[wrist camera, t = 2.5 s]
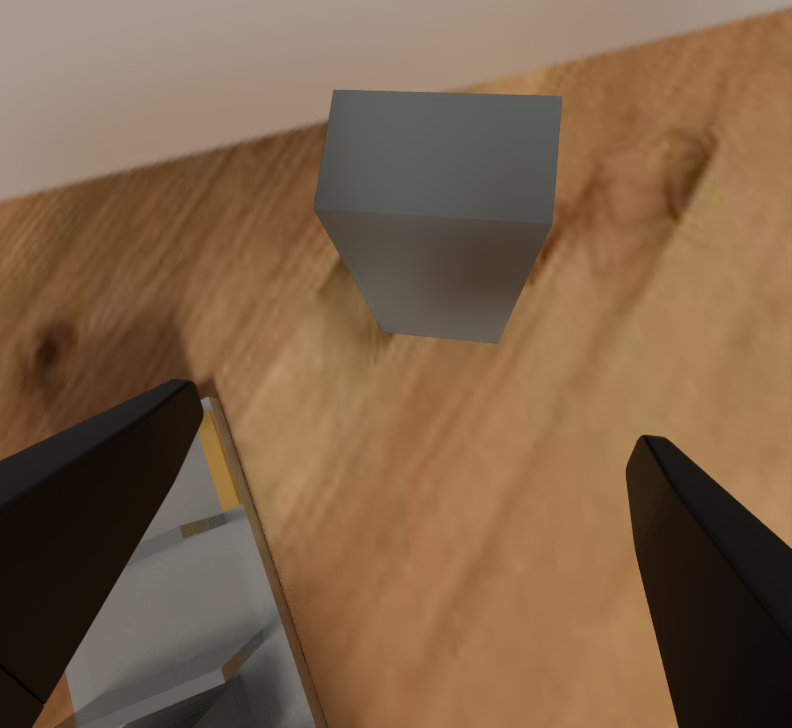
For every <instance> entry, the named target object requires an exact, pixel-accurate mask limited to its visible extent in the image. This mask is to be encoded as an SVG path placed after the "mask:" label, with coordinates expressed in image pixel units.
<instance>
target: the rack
mask: <svg viewBox="0 0 792 728" xmlns="http://www.w3.org/2000/svg"><path fill="white" fill-rule="evenodd" d="M201 403H202V406H203V410H204V417H203V421H202V423H201V425H200V428H199V430H198V432H197V434H196V436H195V439H194V441H193V443H192V445H191V448H190V450H189V452H188V454H187V457H186V459H185V461H184V463H183V465H182V468H181V470H180V472H179V474H178V476H177V478H176V480H175V482H174V484H173V486H172V488H171V489H170V491H169V493H168V495H167V496H166V498H165V500H164V502H163V503H162V505H161V507H160V508H159V510H158V512H157V514H156V515H155V517H154V519H153V520H152V522H151V524H150V526H149V527H148V529H147V531H146V532H145V534H144V536H143V538H142V539H141V541H140V543H139V544H138V546H137V548H136V550H135V551H134V553H133V555H132V556H131V558H130V560H129V562H128V563H127V565H126V567H125V568H124V570H123V572H122V574H121V575H120V577H119V579H118V580H117V582H116V584H115V586H114V587H113V589H112V591H111V592H110V594H109V596H108V598H107V599H106V601H105V603H104V604H103V606H102V608H101V610H100V611H99V613H98V615H97V616H96V618H95V620H94V622H93V623H92V625H91V627H90V628H89V630H88V632H87V634H86V635H85V637H84V639H83V640H82V642H81V644H80V646H79V647H78V649H77V651H76V652H75V654H74V656H73V658H72V659H71V661H70V663H69V664H68V666H67V668H66V670H65V673H66V678H67V682H68V687H69V691H70V695H71V700H72V704H73V709H74V714H73V715H71V716H70V717H68V718H67V719H66V720H64V721H63V722H61V723H60V724H58V725H57V726H56V727H54V728H327V726H326V723H325V720H324V717H323V714H322V711H321V708H320V704H319V701H318V698H317V695H316V692H315V689H314V686H313V683H312V680H311V677H310V674H309V671H308V668H307V665H306V662H305V659H304V656H303V653H302V650H301V647H300V644H299V641H298V638H297V635H296V632H295V629H294V626H293V623H292V620H291V617H290V614H289V611H288V608H287V605H286V602H285V598H284V595H283V592H282V589H281V586H280V583H279V580H278V577H277V574H276V571H275V568H274V565H273V562H272V559H271V556H270V553H269V550H268V547H267V544H266V541H265V538H264V535H263V532H262V529H261V526H260V523H259V520H258V517H257V514H256V511H255V508H254V505H253V502H252V499H251V496H250V492H249V489H248V486H247V483H246V480H245V477H244V474H243V471H242V468H241V465H240V462H239V459H238V456H237V453H236V450H235V447H234V444H233V441H232V438H231V435H230V432H229V429H228V426H227V423H226V420H225V417H224V414H223V411H222V408H221V405H220V402H219V399H217V398H213V397H206V398H204V399H202V400H201Z"/></svg>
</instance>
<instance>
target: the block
mask: <svg viewBox="0 0 792 728" xmlns="http://www.w3.org/2000/svg"><path fill="white" fill-rule="evenodd" d="M561 107H562V96H539V95H503V94H466V93H430V92H393V91H358V90H357V91H356V90H334V91H333V97H332V103H331V109H330V114H329V120H328V126H327V132H326V138H325V144H324V150H323V156H322V162H321V168H320V173H319V179H318V185H317V191H316V197H315V203H314V210H315V212H316V214H317V216H318V217H319V219H320V221H321V223H322V224H323V226H324V228H325V230H326V232H327V233H328V235H329V237H330V239H331V240H332V242H333V244H334V246H335V247H336V249H337V251H338V253H339V254H340V256H341V258H342V260H343V261H344V263H345V265H346V267H347V268H348V270H349V272H350V274H351V275H352V277H353V279H354V281H355V282H356V284H357V286H358V288H359V289H360V291H361V293H362V295H363V296H364V298H365V300H366V302H367V304H368V305H369V307H370V309H371V311H372V312H373V314H374V316H375V318H376V319H377V321H378V323H379V325H380V326H381V328H382V330H383V332H385V333H395V334H406V335H416V336H426V337H436V338H446V339H456V340H466V341H476V342H487V343H497V344H498V341H499V339H500V337H501V335H502V333H503V331H504V328H505V326H506V324H507V322H508V320H509V317H510V315H511V313H512V311H513V309H514V307H515V304H516V302H517V300H518V298H519V296H520V293H521V291H522V289H523V287H524V285H525V283H526V280H527V278H528V276H529V274H530V272H531V269H532V267H533V265H534V263H535V261H536V259H537V256H538V254H539V252H540V250H541V248H542V245H543V243H544V241H545V239H546V237H547V235H548V232H549V230H550V228H551V226H552V222H553V209H554V196H555V184H556V171H557V158H558V145H559V132H560V120H561Z"/></svg>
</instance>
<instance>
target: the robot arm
mask: <svg viewBox="0 0 792 728" xmlns="http://www.w3.org/2000/svg"><path fill="white" fill-rule="evenodd" d="M203 417H204V410H203V406H202V403H201V400H200V396H199V393H198V390H197V387H196V384H195V383H194V382H193V381H190V380H182V379H172V380H170V381H168V382H166V383H164V384H162V385H159V386H157V387H155V388H153V389H151V390H149V391H147V392H145V393H143V394H140V395H138V396H136V397H134V398H132V399H130V400H128V401H126V402H124V403H121V404H119V405H117V406H115V407H113V408H111V409H109V410H107V411H105V412H102V413H100V414H98V415H96V416H94V417H92V418H90V419H88V420H85V421H83V422H81V423H79V424H77V425H75V426H73V427H71V428H69V429H66V430H64V431H62V432H60V433H58V434H56V435H54V436H52V437H50V438H47V439H45V440H43V441H41V442H39V443H37V444H35V445H33V446H30V447H28V448H26V449H24V450H22V451H20V452H18V453H16V454H14V455H11V456H9V457H7V458H5V459H3V460H1V461H0V728H32V727H33V725H34V723H35V722H36V720H37V718H38V716H39V715H40V713H41V711H42V710H43V708H44V705H43V704H45V703H46V702H47V700H48V699H49V697H50V695H51V694H52V692H53V690H54V688H55V687H56V685H57V683H58V682H59V680H60V678H61V676H62V675H63V673H64V671H65V670H66V668H67V666H68V664H69V663H70V661H71V659H72V658H73V656H74V654H75V652H76V651H77V649H78V647H79V646H80V644H81V642H82V640H83V639H84V637H85V635H86V634H87V632H88V630H89V628H90V627H91V625H92V623H93V622H94V620H95V618H96V616H97V615H98V613H99V611H100V610H101V608H102V606H103V604H104V603H105V601H106V599H107V598H108V596H109V594H110V592H111V591H112V589H113V587H114V586H115V584H116V582H117V580H118V579H119V577H120V575H121V574H122V572H123V570H124V568H125V567H126V565H127V563H128V562H129V560H130V558H131V556H132V555H133V553H134V551H135V550H136V548H137V546H138V544H139V543H140V541H141V539H142V538H143V536H144V534H145V532H146V531H147V529H148V527H149V526H150V524H151V522H152V520H153V519H154V517H155V515H156V514H157V512H158V510H159V508H160V507H161V505H162V503H163V502H164V500H165V498H166V496H167V495H168V493H169V491H170V489H171V488H172V486H173V484H174V482H175V480H176V478H177V476H178V474H179V472H180V470H181V468H182V465H183V463H184V461H185V459H186V457H187V454H188V452H189V450H190V448H191V445H192V443H193V441H194V439H195V436H196V434H197V432H198V430H199V428H200V425H201V423H202V421H203ZM626 482H627V490H628V498H629V507H630V515H631V523H632V531H633V539H634V546H635V552H636V557H637V561H638V566H639V570H640V574H641V578H642V582H643V586H644V590H645V594H646V598H647V602H648V606H649V610H650V614H651V618H652V622H653V626H654V630H655V634H656V638H657V642H658V646H659V651H660V655H661V659H662V663H663V667H664V671H665V675H666V679H667V683H668V687H669V691H670V695H671V699H672V703H673V707H674V711H675V715H676V719H677V723H678V727H679V728H792V549H791V548H790V547H789V546H788V545H787V544H786V543H785V542H784V541H782V540H781V539H780V538H779V537H778V536H777V535H776V534H775V533H773V532H772V531H771V530H770V529H769V528H768V527H767V526H765V525H764V524H763V523H762V522H761V521H760V520H759V519H758V518H756V517H755V516H754V515H753V514H752V513H751V512H750V511H749V510H747V509H746V508H745V507H744V506H743V505H742V504H741V503H740V502H738V501H737V500H736V499H735V498H734V497H733V496H732V495H730V494H729V493H728V492H727V491H726V490H725V489H724V488H723V487H721V486H720V485H719V484H718V483H717V482H716V481H715V480H714V479H712V478H711V477H710V476H709V475H708V474H707V473H706V472H704V471H703V470H702V469H701V468H700V467H699V466H698V465H697V464H695V463H694V462H693V461H692V460H691V459H690V458H689V457H688V456H686V455H685V454H684V453H683V452H682V451H681V450H680V449H678V448H677V447H676V446H675V445H674V444H673V443H672V442H671V441H669V440H668V439H667V438H665V437H661V436H653V435H642V436H640V437H639V439H638V440H637V443H636V445H635V447H634V449H633V452H632V454H631V456H630V459H629V461H628V463H627V467H626Z"/></svg>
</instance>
